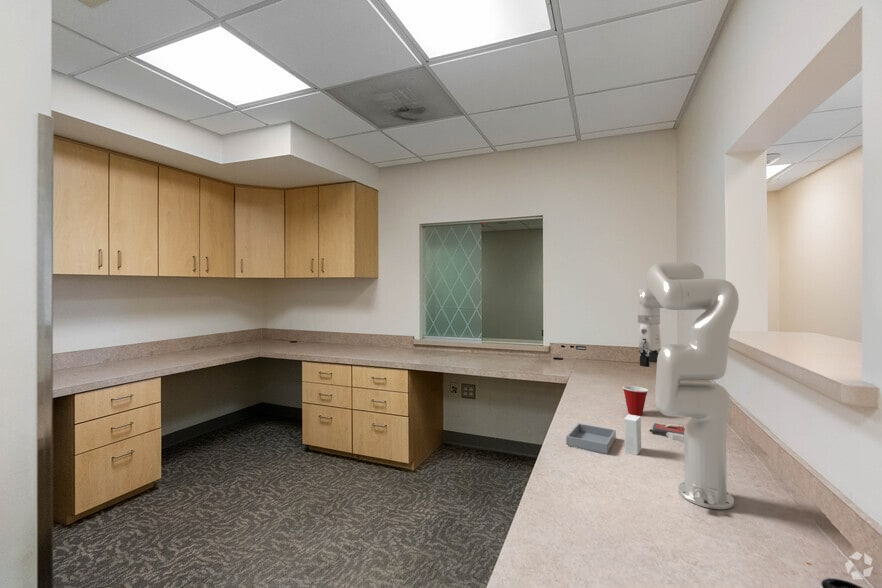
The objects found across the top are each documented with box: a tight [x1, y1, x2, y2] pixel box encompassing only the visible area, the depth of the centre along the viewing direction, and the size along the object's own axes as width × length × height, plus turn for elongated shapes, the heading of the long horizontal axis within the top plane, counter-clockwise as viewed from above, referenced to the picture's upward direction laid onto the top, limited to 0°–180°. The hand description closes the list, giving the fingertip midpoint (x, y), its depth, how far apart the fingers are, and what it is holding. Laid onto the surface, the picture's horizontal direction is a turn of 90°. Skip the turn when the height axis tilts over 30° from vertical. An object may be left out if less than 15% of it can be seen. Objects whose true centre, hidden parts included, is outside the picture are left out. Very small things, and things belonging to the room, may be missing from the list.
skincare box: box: [623, 413, 642, 456], centre depth 134 cm, size 6×4×12 cm
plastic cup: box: [622, 385, 650, 417], centre depth 173 cm, size 11×11×12 cm
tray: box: [565, 423, 617, 456], centre depth 142 cm, size 16×14×4 cm
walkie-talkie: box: [649, 422, 685, 443], centre depth 146 cm, size 9×4×20 cm
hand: (649, 364), depth 146 cm, fingers open, 9 cm apart
